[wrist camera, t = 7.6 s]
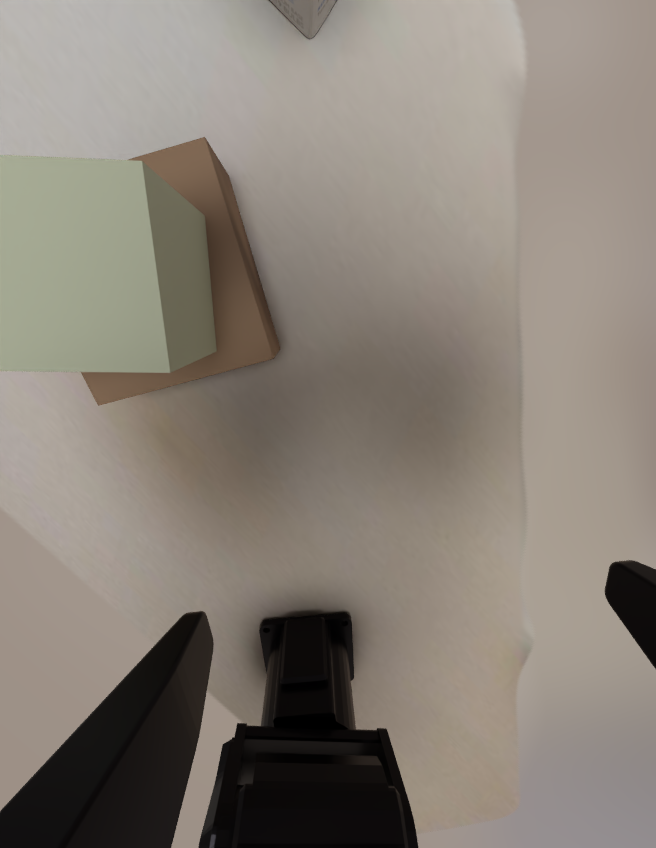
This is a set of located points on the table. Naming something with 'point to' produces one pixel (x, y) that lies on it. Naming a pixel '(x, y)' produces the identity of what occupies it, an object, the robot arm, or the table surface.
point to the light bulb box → (305, 13)
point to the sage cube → (100, 269)
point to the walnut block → (229, 273)
